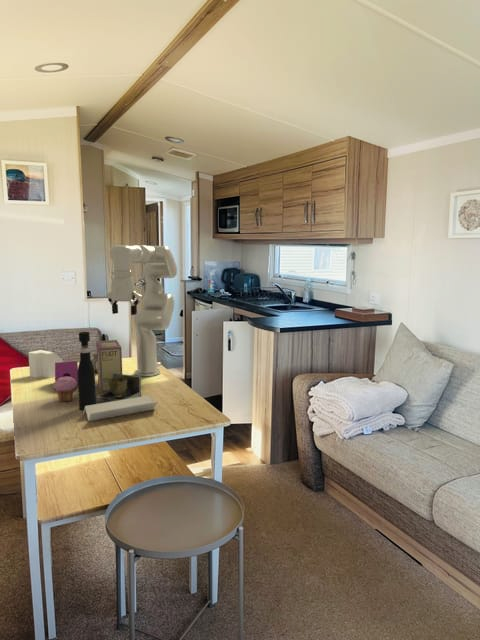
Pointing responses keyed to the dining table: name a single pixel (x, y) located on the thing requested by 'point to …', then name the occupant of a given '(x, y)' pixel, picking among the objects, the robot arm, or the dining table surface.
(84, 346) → the wine bottle
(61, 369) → the mounting bracket
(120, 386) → the cup
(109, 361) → the box
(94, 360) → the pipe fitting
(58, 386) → the cupcake
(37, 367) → the corner bracket
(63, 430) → the dining table surface
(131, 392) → the tray
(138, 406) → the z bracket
